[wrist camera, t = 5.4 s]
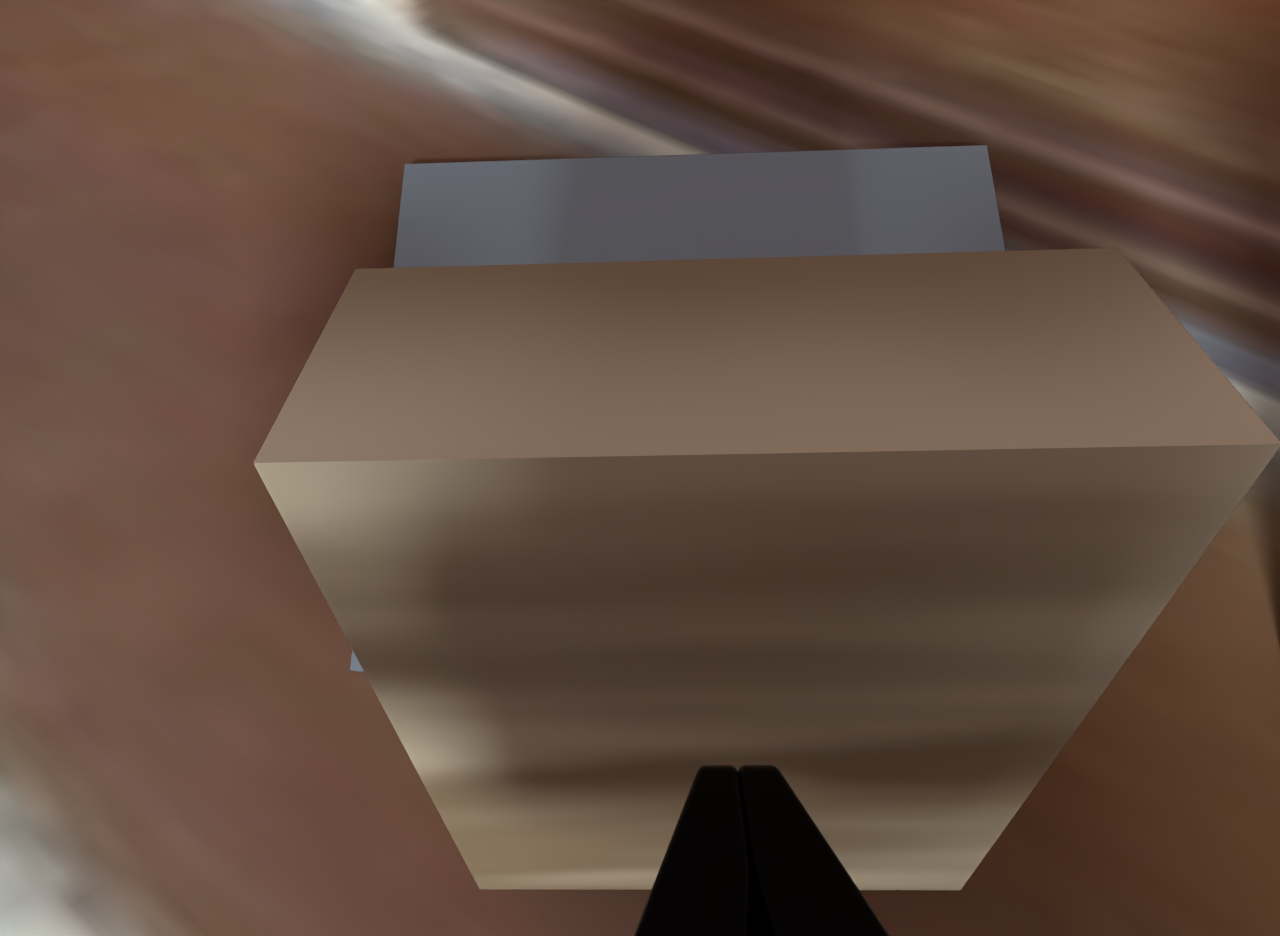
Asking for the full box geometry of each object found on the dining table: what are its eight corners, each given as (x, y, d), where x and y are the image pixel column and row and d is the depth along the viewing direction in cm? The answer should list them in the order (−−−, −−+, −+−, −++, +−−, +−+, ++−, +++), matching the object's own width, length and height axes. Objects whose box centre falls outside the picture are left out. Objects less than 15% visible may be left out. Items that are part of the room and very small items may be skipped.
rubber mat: (1067, 665, 15) (1078, 663, 15) (357, 671, 16) (350, 669, 15) (980, 156, 19) (986, 144, 19) (409, 174, 20) (404, 163, 19)
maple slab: (960, 890, 13) (1282, 443, 6) (480, 889, 13) (252, 463, 6) (915, 714, 15) (1110, 241, 8) (505, 716, 16) (359, 261, 9)
